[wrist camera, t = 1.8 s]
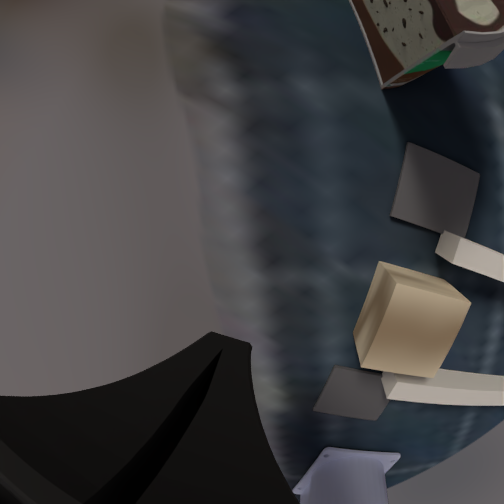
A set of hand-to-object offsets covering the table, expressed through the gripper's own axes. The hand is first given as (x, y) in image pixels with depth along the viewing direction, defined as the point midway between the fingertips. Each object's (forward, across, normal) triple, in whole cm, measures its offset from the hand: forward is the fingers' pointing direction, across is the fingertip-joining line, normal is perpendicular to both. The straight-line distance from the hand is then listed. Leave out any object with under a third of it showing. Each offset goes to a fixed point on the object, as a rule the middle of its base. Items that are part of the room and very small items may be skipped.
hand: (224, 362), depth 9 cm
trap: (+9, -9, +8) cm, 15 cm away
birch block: (+10, -9, 0) cm, 13 cm away
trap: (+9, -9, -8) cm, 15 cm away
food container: (+10, -5, -18) cm, 21 cm away
